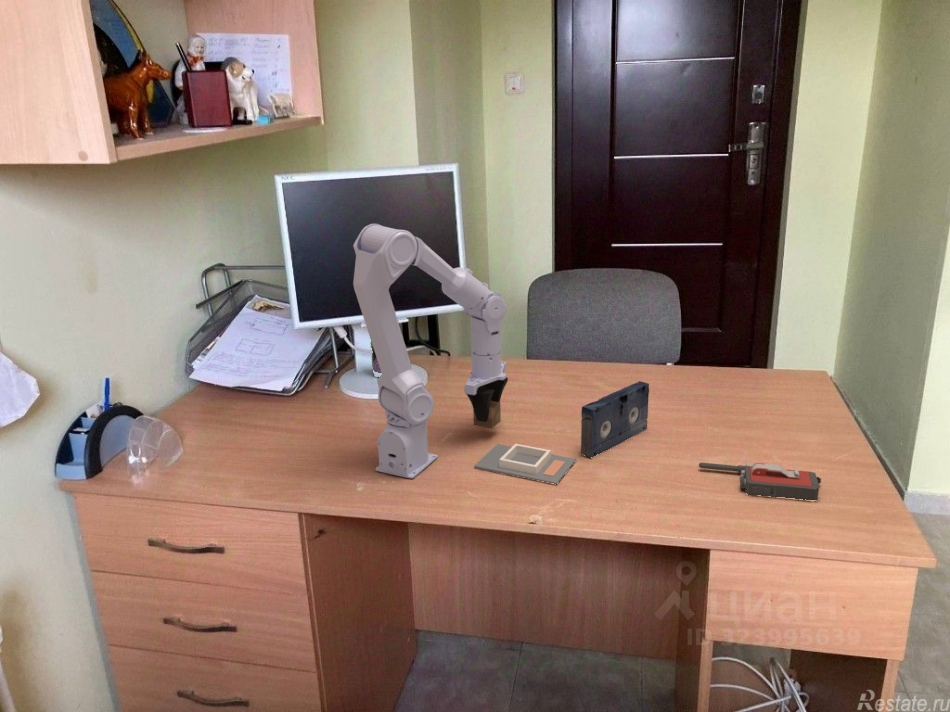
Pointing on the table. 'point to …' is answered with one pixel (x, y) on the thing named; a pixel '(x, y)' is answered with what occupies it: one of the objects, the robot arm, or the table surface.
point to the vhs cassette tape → (614, 419)
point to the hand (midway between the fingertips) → (487, 416)
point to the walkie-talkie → (773, 480)
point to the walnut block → (490, 416)
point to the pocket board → (526, 462)
